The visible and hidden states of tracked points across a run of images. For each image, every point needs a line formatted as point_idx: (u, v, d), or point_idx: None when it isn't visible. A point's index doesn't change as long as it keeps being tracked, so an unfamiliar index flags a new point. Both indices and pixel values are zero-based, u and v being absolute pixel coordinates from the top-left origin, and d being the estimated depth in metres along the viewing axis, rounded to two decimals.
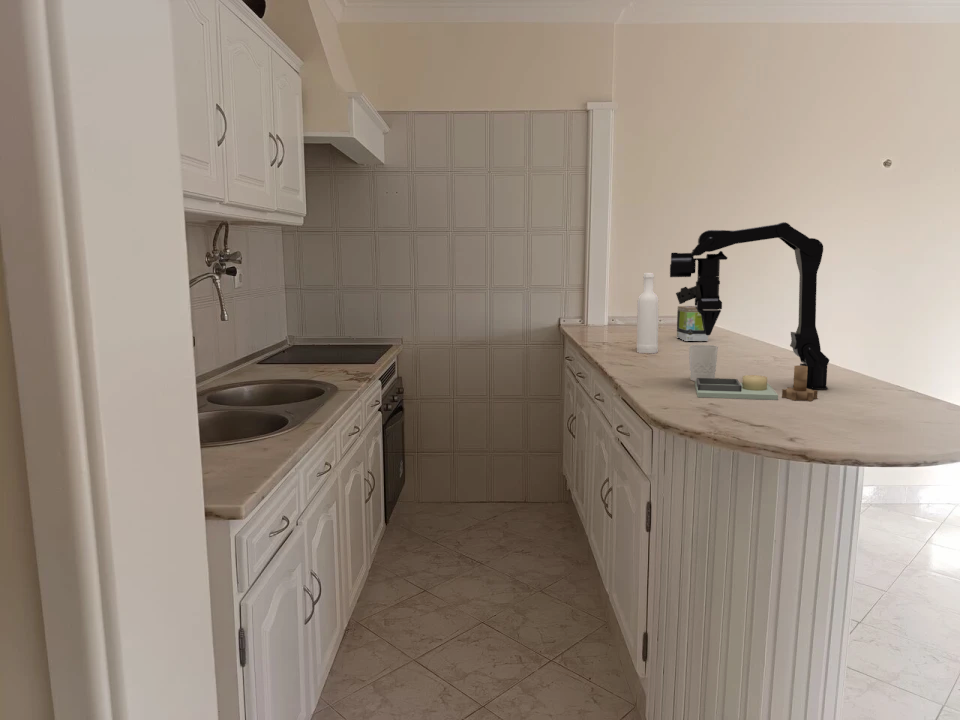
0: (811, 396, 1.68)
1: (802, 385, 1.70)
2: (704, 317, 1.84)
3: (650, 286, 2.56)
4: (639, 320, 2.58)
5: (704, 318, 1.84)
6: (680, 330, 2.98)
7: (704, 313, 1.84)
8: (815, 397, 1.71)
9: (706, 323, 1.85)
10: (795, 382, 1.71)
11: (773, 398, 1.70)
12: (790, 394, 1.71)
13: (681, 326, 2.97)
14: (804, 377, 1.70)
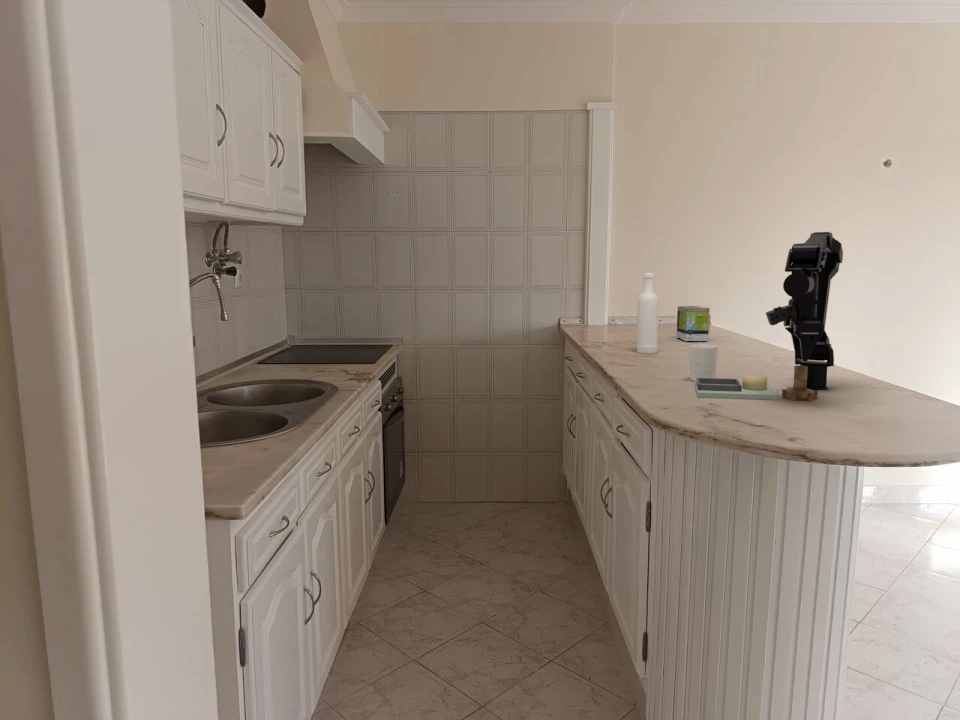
0: (811, 396, 1.68)
1: (802, 385, 1.70)
2: (802, 341, 1.64)
3: (650, 286, 2.56)
4: (639, 320, 2.58)
5: (802, 342, 1.64)
6: (680, 330, 2.98)
7: (802, 336, 1.64)
8: (815, 397, 1.71)
9: (804, 348, 1.65)
10: (795, 382, 1.71)
11: (773, 398, 1.70)
12: (790, 394, 1.71)
13: (681, 326, 2.97)
14: (804, 377, 1.70)
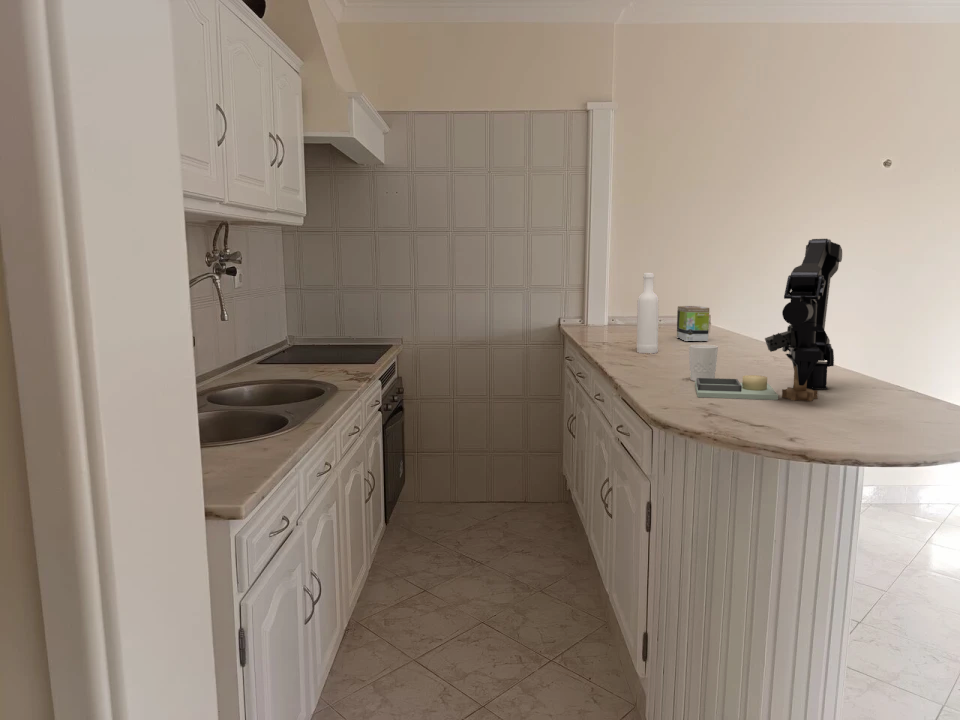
0: (811, 396, 1.68)
1: None
2: (798, 366, 1.68)
3: (650, 286, 2.56)
4: (639, 320, 2.58)
5: (798, 367, 1.68)
6: (680, 330, 2.98)
7: (799, 362, 1.68)
8: (815, 397, 1.71)
9: (800, 372, 1.69)
10: (795, 382, 1.71)
11: (773, 398, 1.70)
12: (790, 394, 1.71)
13: (681, 326, 2.97)
14: None
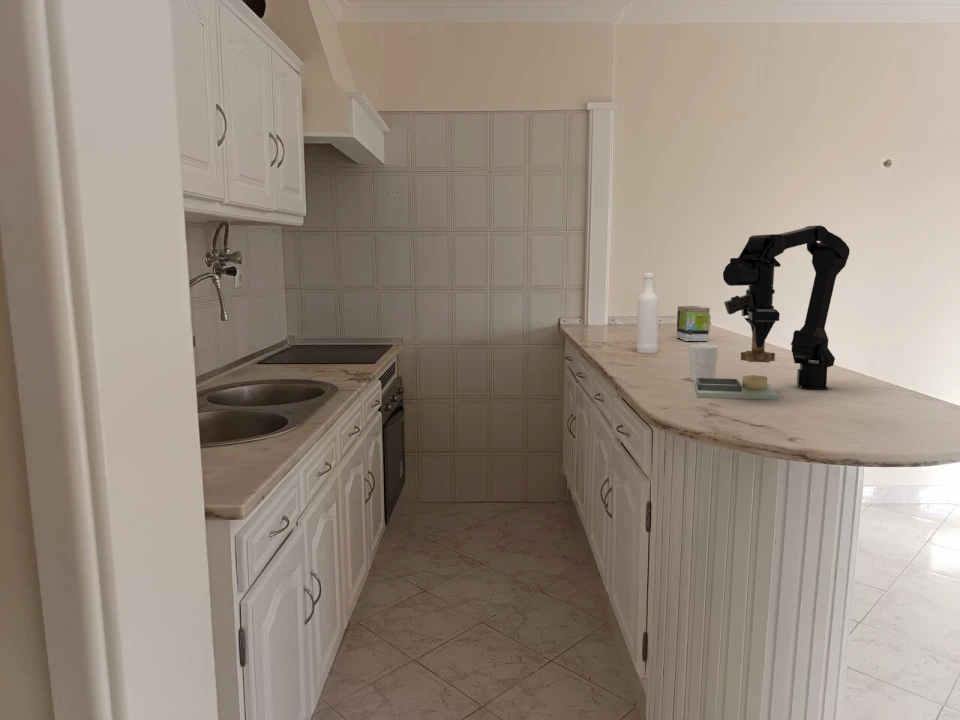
0: (768, 358, 1.71)
1: None
2: (756, 328, 1.71)
3: (650, 286, 2.56)
4: (639, 320, 2.58)
5: (756, 329, 1.71)
6: (680, 330, 2.98)
7: (756, 324, 1.71)
8: (772, 359, 1.74)
9: (758, 335, 1.72)
10: (753, 345, 1.74)
11: (773, 398, 1.70)
12: (748, 356, 1.74)
13: (681, 326, 2.97)
14: None
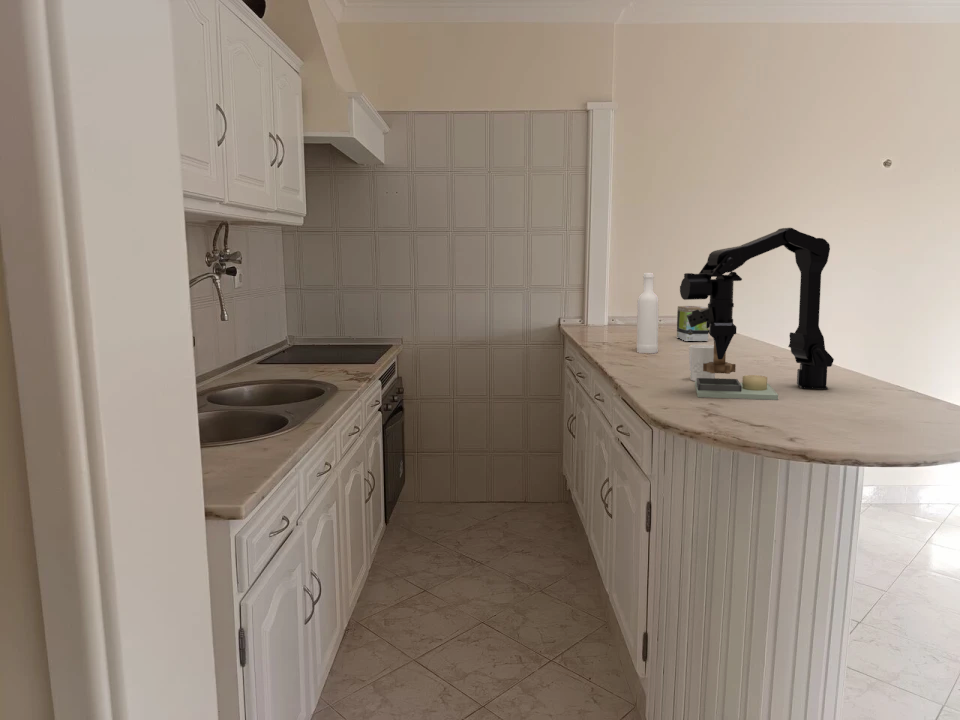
0: (728, 369, 1.77)
1: (721, 359, 1.79)
2: (716, 341, 1.77)
3: (650, 286, 2.56)
4: (639, 320, 2.58)
5: (716, 342, 1.77)
6: (680, 330, 2.98)
7: (716, 336, 1.76)
8: (733, 370, 1.80)
9: (718, 347, 1.77)
10: (714, 356, 1.80)
11: (773, 398, 1.70)
12: (709, 367, 1.79)
13: (681, 326, 2.97)
14: None
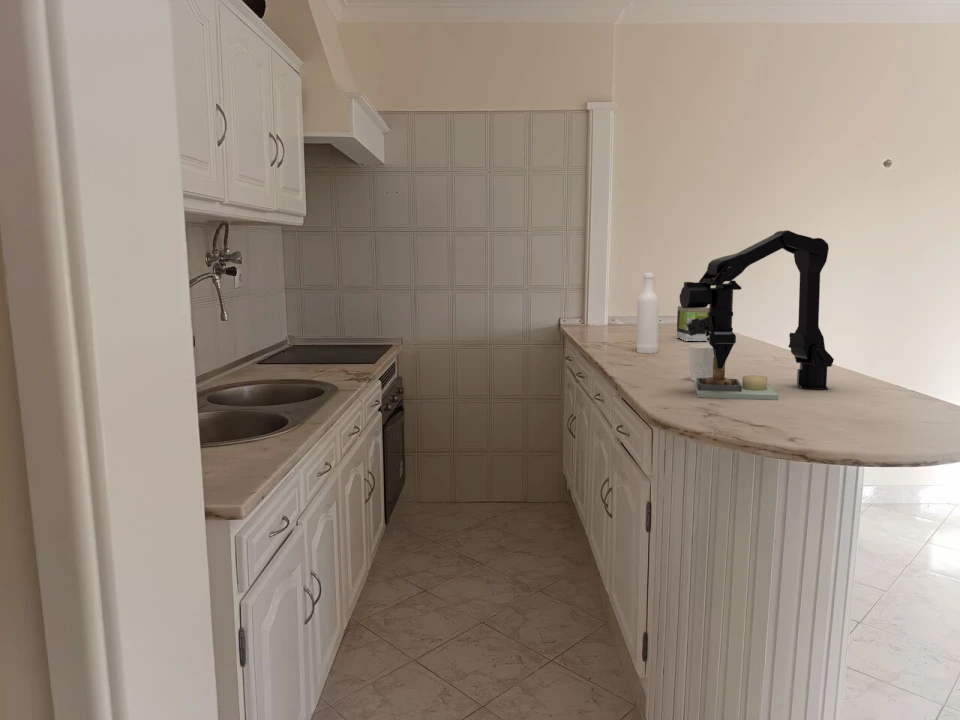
0: None
1: (720, 375, 1.80)
2: (716, 350, 1.76)
3: (650, 286, 2.56)
4: (639, 320, 2.58)
5: (716, 351, 1.76)
6: (680, 330, 2.98)
7: (716, 346, 1.75)
8: None
9: (718, 356, 1.76)
10: (713, 372, 1.81)
11: (773, 398, 1.70)
12: (709, 383, 1.80)
13: (681, 326, 2.97)
14: None
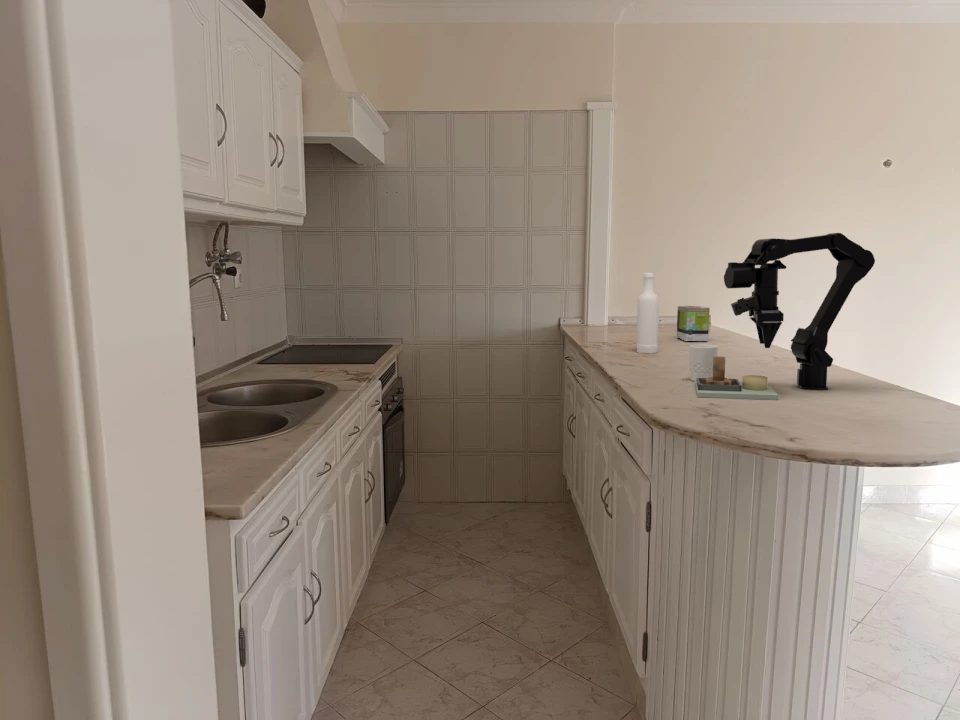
0: None
1: (720, 375, 1.80)
2: (764, 329, 1.77)
3: (650, 286, 2.56)
4: (639, 320, 2.58)
5: (764, 330, 1.77)
6: (680, 330, 2.98)
7: (764, 325, 1.76)
8: None
9: (766, 336, 1.77)
10: (713, 372, 1.81)
11: (773, 398, 1.70)
12: (709, 383, 1.80)
13: (681, 326, 2.97)
14: (722, 367, 1.79)
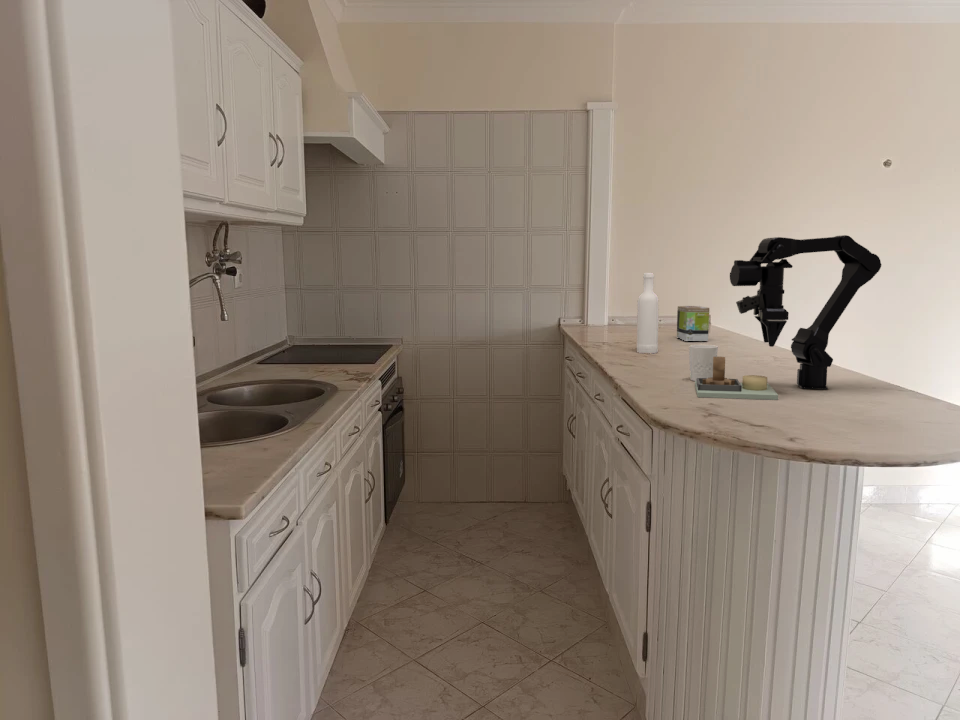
0: None
1: (720, 375, 1.80)
2: (768, 328, 1.77)
3: (650, 286, 2.56)
4: (639, 320, 2.58)
5: (768, 329, 1.77)
6: (680, 330, 2.98)
7: (768, 324, 1.77)
8: None
9: (770, 334, 1.78)
10: (713, 372, 1.81)
11: (773, 398, 1.70)
12: (709, 383, 1.80)
13: (681, 326, 2.97)
14: (722, 367, 1.79)
